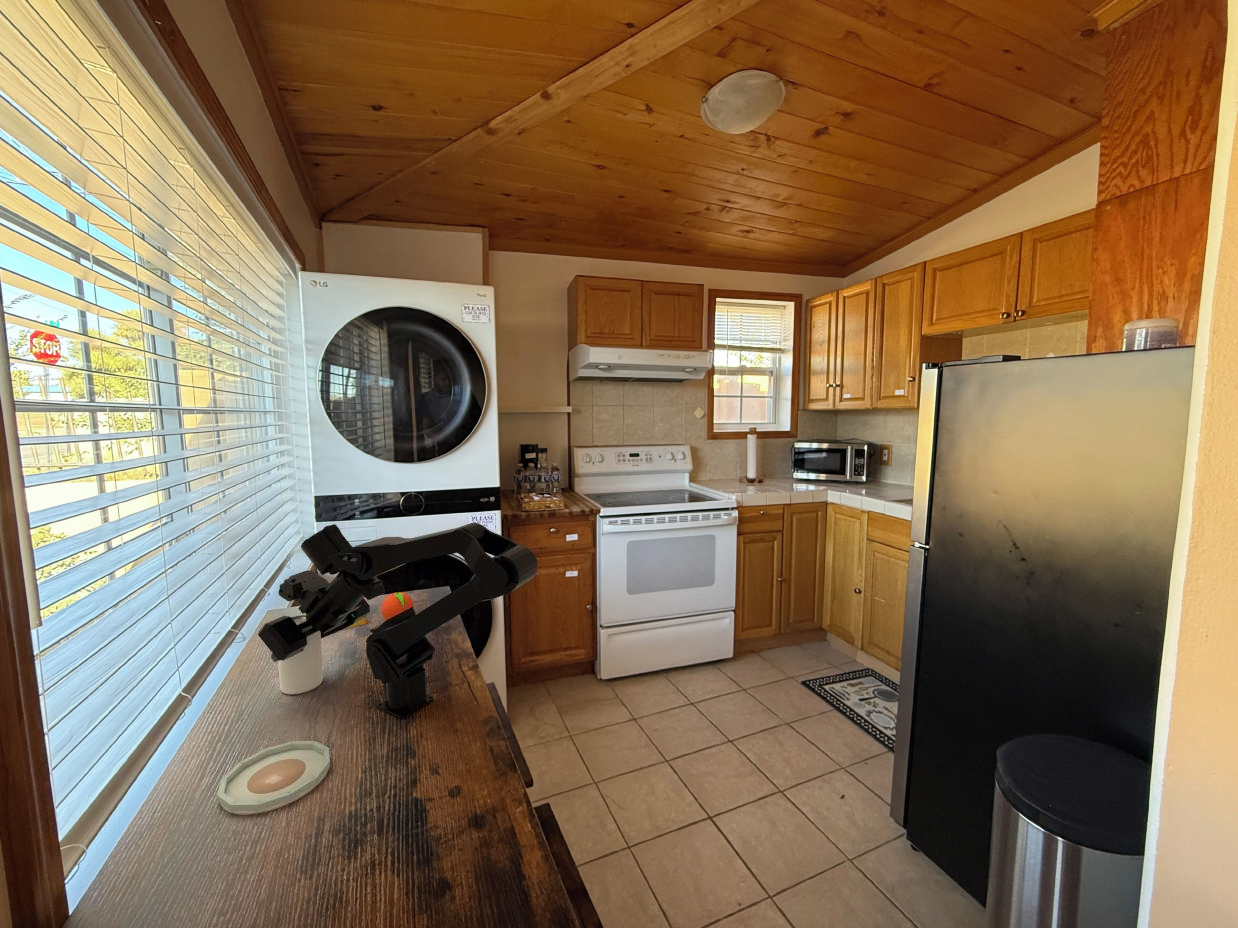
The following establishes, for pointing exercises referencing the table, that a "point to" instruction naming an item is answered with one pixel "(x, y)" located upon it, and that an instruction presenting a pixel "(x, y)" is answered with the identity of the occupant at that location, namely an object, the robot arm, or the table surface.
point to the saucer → (274, 777)
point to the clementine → (396, 604)
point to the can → (302, 666)
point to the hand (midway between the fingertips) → (293, 649)
